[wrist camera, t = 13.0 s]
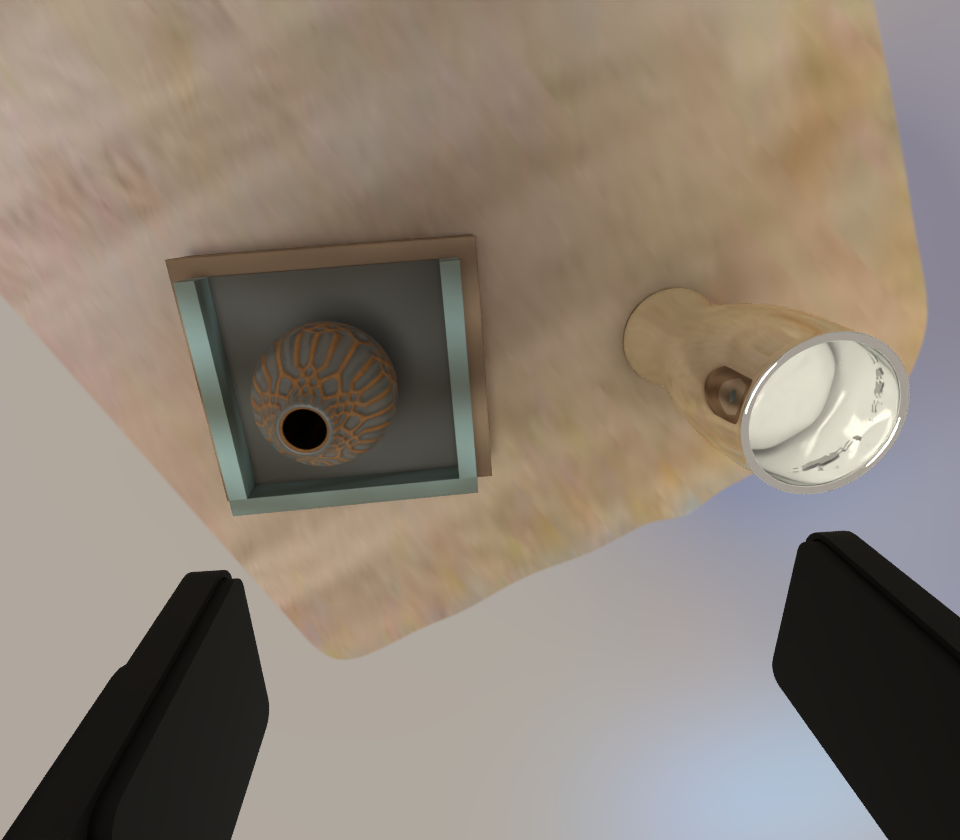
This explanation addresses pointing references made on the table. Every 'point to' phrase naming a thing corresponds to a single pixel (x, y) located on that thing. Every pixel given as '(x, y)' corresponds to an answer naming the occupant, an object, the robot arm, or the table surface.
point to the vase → (324, 393)
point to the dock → (378, 312)
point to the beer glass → (773, 386)
